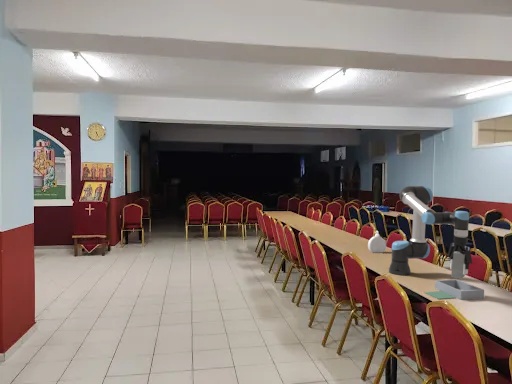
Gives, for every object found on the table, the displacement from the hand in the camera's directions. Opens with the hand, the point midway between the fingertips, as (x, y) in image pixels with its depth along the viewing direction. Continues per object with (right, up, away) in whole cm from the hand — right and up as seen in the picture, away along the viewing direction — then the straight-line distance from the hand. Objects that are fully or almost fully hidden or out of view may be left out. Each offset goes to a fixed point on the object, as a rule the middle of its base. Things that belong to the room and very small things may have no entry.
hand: (458, 271), depth 225 cm
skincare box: (0, -4, 0) cm, 4 cm away
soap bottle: (-11, -8, +119) cm, 120 cm away
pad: (-14, -13, -5) cm, 20 cm away
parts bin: (0, -13, 0) cm, 13 cm away
